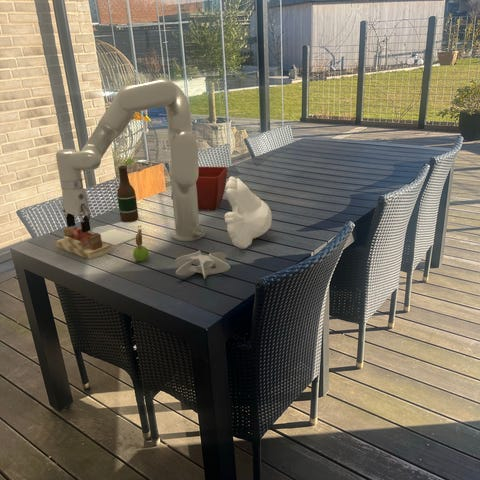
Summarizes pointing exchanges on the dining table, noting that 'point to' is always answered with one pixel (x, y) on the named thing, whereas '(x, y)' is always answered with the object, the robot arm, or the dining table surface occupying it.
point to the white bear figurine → (245, 214)
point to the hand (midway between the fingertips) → (78, 228)
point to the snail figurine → (140, 248)
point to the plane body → (89, 252)
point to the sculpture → (201, 264)
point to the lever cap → (81, 236)
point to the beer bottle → (126, 197)
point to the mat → (116, 237)
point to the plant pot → (210, 187)
